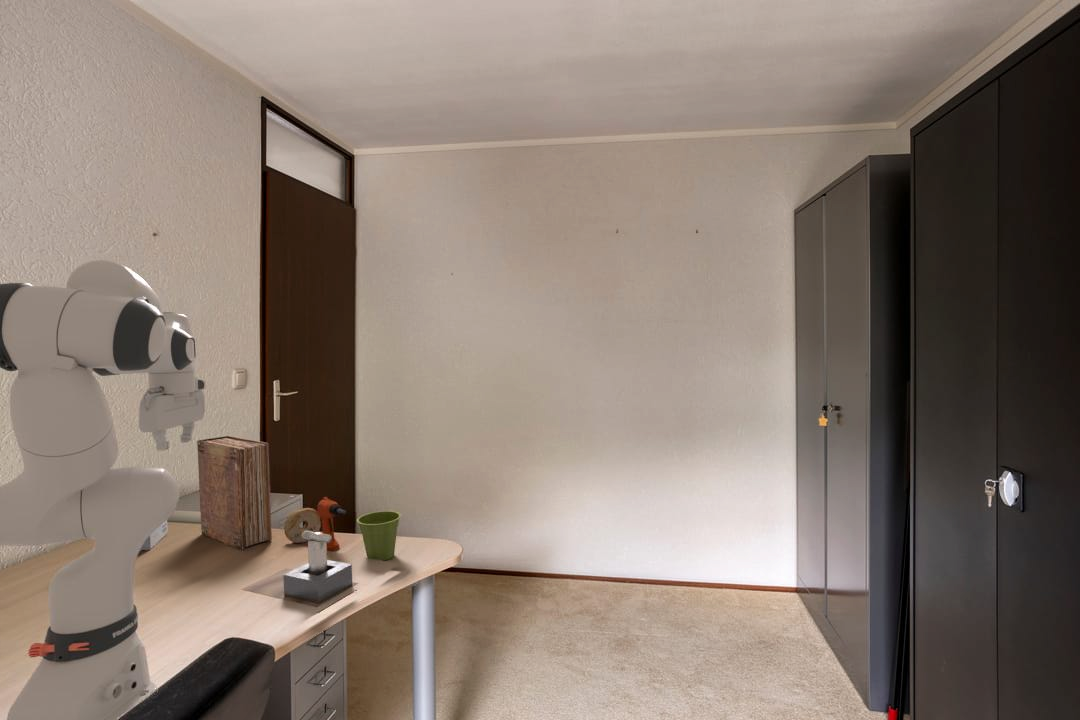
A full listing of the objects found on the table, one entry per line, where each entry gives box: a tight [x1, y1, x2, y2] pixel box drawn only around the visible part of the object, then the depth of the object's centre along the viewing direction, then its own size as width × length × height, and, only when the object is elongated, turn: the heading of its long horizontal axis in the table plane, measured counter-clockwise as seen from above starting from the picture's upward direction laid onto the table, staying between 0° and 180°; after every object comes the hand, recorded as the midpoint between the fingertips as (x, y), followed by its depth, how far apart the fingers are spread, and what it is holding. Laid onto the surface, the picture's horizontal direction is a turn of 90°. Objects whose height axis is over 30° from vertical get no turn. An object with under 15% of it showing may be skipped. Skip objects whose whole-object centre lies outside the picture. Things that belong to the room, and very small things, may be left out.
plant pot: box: [356, 510, 402, 562], centre depth 157 cm, size 12×12×11 cm
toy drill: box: [316, 496, 347, 552], centre depth 161 cm, size 5×19×15 cm, turn 40°
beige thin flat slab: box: [241, 568, 359, 614], centre depth 136 cm, size 24×13×2 cm, turn 66°
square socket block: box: [283, 559, 353, 604], centre depth 133 cm, size 11×11×5 cm
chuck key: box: [302, 531, 332, 576], centre depth 133 cm, size 8×4×14 cm, turn 68°
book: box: [196, 435, 273, 551], centre depth 174 cm, size 25×9×30 cm, turn 54°
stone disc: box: [284, 507, 322, 544], centre depth 170 cm, size 10×4×10 cm, turn 135°
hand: (175, 445), depth 128 cm, fingers open, 8 cm apart
